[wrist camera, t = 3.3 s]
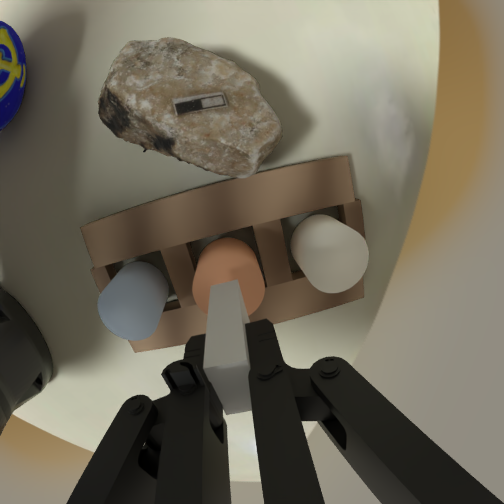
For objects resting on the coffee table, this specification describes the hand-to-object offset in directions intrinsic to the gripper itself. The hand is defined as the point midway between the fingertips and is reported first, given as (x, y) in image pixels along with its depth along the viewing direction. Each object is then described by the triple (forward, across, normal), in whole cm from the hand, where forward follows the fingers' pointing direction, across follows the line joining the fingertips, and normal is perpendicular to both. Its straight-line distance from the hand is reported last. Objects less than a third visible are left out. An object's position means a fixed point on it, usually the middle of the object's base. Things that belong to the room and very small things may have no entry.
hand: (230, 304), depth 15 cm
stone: (+8, 0, +11) cm, 14 cm away
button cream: (+6, +7, 0) cm, 9 cm away
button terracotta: (+6, 0, 0) cm, 6 cm away
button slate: (+6, -7, 0) cm, 9 cm away
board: (+7, 0, 0) cm, 7 cm away
